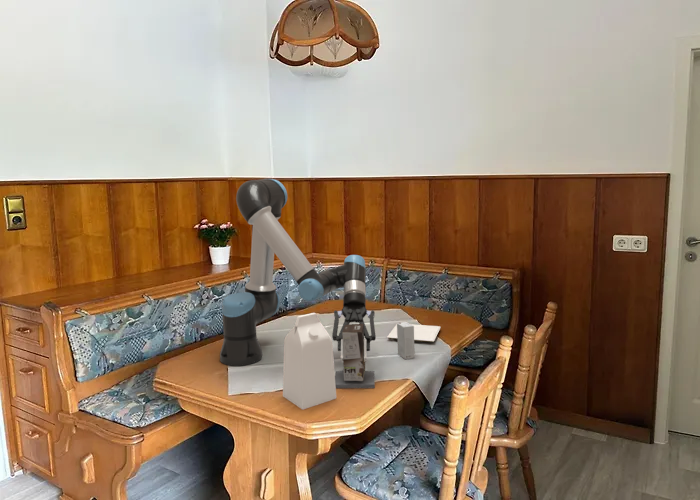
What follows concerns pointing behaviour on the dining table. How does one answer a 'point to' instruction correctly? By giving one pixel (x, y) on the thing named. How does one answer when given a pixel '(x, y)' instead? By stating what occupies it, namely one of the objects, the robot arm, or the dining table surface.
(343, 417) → the dining table surface
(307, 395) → the milk
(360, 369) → the coffee box
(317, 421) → the dining table surface
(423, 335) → the plate
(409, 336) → the skincare box
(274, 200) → the robot arm
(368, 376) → the mat
